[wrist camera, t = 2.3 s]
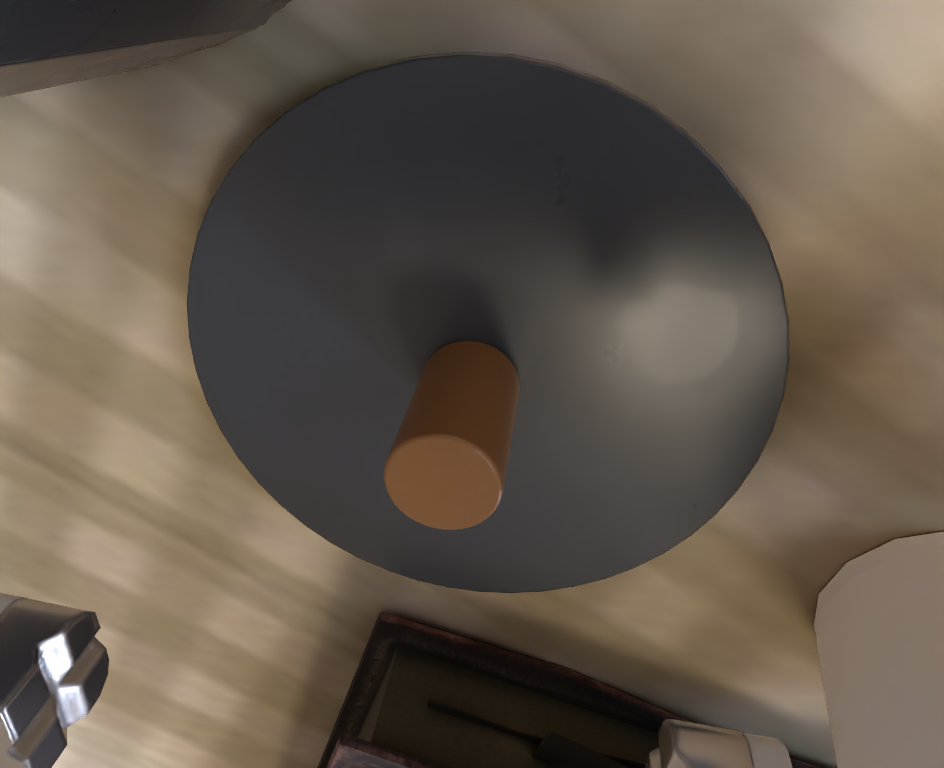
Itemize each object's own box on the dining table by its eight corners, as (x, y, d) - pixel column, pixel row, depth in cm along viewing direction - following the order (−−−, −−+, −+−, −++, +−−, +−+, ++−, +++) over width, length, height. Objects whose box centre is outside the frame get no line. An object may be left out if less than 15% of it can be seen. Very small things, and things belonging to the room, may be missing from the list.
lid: (880, 96, 13) (1023, 154, 9) (687, 601, 21) (713, 766, 17) (175, 9, 15) (-5, 23, 10) (233, 519, 22) (144, 654, 18)
